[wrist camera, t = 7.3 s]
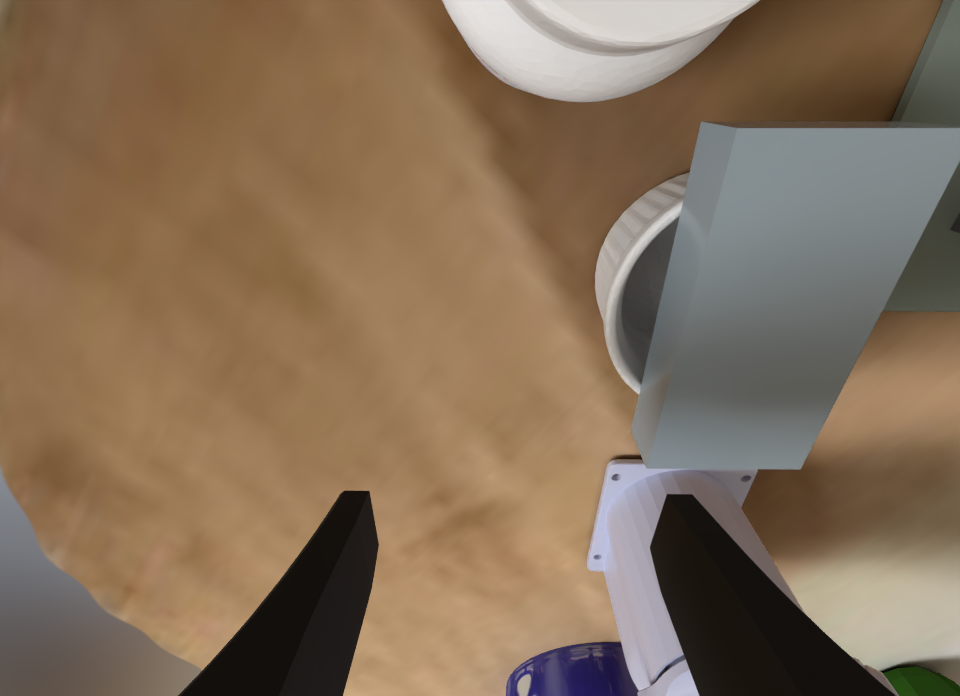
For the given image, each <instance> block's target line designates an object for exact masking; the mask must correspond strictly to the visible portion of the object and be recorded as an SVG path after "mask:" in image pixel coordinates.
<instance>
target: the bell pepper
mask: <svg viewBox="0 0 960 696" xmlns="http://www.w3.org/2000/svg"><path fill="white" fill-rule="evenodd" d="M883 674H884V675H885V677H886V678H887V679H888V681H889V682H890V684H891V685H892V686H893V688H894V689H895V691H896V692H897V693H898V695H899V696H960V687H959V686H958V685H957V684H956V683H955V682H953V681H952V680H950V679H948V678H947V677H945V676H943V675H941V674H940V673H932V672H930V671H929V670H927V669H923V668H920V667H917V666H916V667H906V668H896V669H894V670H891V671H888V672H885V673H883Z"/></svg>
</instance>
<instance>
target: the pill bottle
mask: <svg viewBox="0 0 960 696" xmlns="http://www.w3.org/2000/svg"><path fill="white" fill-rule="evenodd" d="M442 1H443V3H444V5H445V7H446V9H447V11H448V13H449V15H450V17H451V18H452V20H453V22H454V23H455V25H456V27H457V28H458V30H459V31H460V33H461V35H462V36H463V38H464V40H465V42H466V43H467V44H468V46H469V48H470V49H471V50H472V52H473V53H474V54H475V56H476V57H477V58H478V59H479V61H480V62H481V63H482V64H483V65H484V66H485V67H486V68H487V69H488V70H489V71H490V72H491V73H492V74H493V75H495V76H496V77H497V78H498V79H500V80H501V81H503V82H504V83H506V84H508V85H510V86H513V87H515V88H517V89H520V90H523V91H526V92H529V93H532V94H535V95H538V96H542V97H545V98H550V99H556V100H561V101H569V102H596V101H603V100H609V99H614V98H618V97H622V96H626V95H629V94H632V93H634V92H637V91H640V90H642V89H644V88H647V87H649V86H651V85H653V84H656V83H658V82H659V81H661V80H663V79H664V78H666V77H668V76H670V75H671V74H673V73H674V72H676V71H677V70H679V69H680V68H682V67H683V66H684V65H686V64H687V63H688V62H690V61H691V60H692V59H693V58H695V57H696V56H697V55H698V54H700V53H701V52H702V51H703V50H704V49H705V48H706V47H707V46H708V45H710V44H711V43H712V42H713V41H714V40H715V39H716V38H717V37H718V36H719V35H720V34H721V32H722V31H723V30H724V29H725V28H726V27H727V26H728V25H729V24H730V23H731V21H732V20H733V19H734V18H735V17H736V16H738V15H739V14H741V13H743V12H744V11H746V10H747V9H749V8H750V7H752V6H753V5H755V4H756V3H757V2H758V1H760V0H442Z"/></svg>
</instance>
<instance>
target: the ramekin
mask: <svg viewBox="0 0 960 696" xmlns="http://www.w3.org/2000/svg"><path fill="white" fill-rule="evenodd" d="M689 173H690V172H689ZM689 173H685V174H682V175H679V176H676V177H674V178H672V179H670V180H667V181H665V182H663V183H661V184H660V185H658V186H656V187H654V188H653V189H651V190H649V191H648V192H647V193H645V194H644V195H643V196H641V197H640V198H639V199H637V200H636V201H635V202H634V203H633V204H632V205H631V206H630V207H629V208H628V209H627V210H625V211H624V213H623V214H622V215H621V216H620V218H619V219H618V220H617V221H616V223H615V224H614V225H613V227H612V228H611V230H610V231H609V233H608V235H607V237H606V239H605V241H604V243H603V245H602V248H601V250H600V253H599V257H598V261H597V266H596V273H595V292H596V299H597V303H598V306H599V309H600V313H601V316H602V319H603V322H604V333H605V339H606V344H607V348H608V351H609V354H610V357H611V360H612V362H613V364H614V366H615V368H616V370H617V371H618V373H619V374H620V376H621V377H622V379H623V380H624V381H625V383H627V384H628V385H629V386H630V387H631V389H633V390H634V391H635V392H636V393H637V394H639V393H640V389H641V384H642V380H643V375H644V371H645V366H646V362H647V358H648V353H649V349H650V344H651V340H652V336H653V331H654V327H655V323H656V318H657V314H658V309H659V305H660V301H661V296H662V292H663V287H664V283H665V279H666V274H667V270H668V266H669V261H670V257H671V252H672V248H673V244H674V239H675V235H676V230H677V226H678V222H679V217H680V213H681V209H682V204H683V200H684V195H685V191H686V187H687V182H688V178H689Z"/></svg>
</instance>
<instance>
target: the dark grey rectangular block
mask: <svg viewBox="0 0 960 696" xmlns="http://www.w3.org/2000/svg"><path fill="white" fill-rule="evenodd" d="M950 230H952V231H955V232H958V233H960V213H959V214H958V216H957V218H956V220H955V222H954V223H953V225H952V227H951V229H950Z"/></svg>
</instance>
